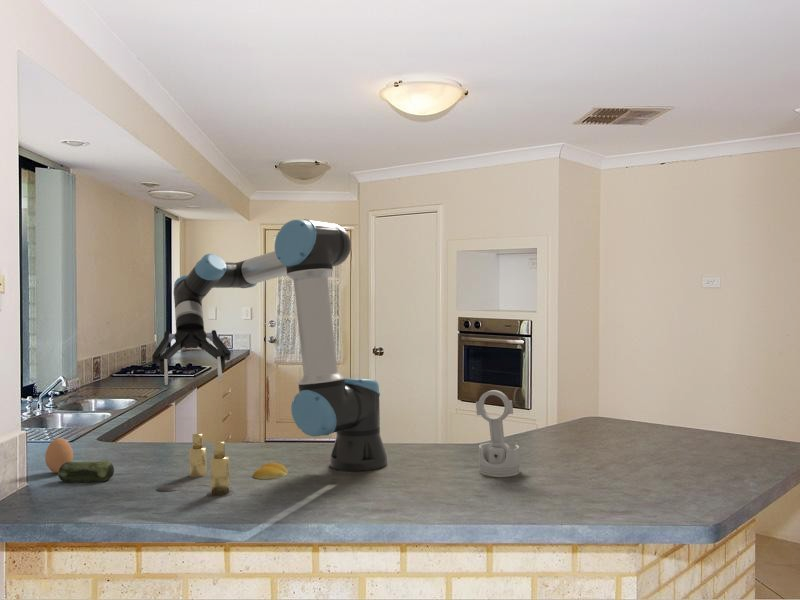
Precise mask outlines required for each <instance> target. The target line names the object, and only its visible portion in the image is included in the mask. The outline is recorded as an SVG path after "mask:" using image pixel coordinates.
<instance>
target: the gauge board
mask: <svg viewBox="0 0 800 600" xmlns="http://www.w3.org/2000/svg"><path fill="white" fill-rule="evenodd" d="M181 484H182V485H181ZM181 484H167V485H162V486H159V487H157V488H155V491H156V492H158V493H172V492H177V491H180V490H182V489H184V486H183V485H193V486H199V487H200V486H203V487H210V488H211V485H206V484H194V483H185V482H182V483H181ZM229 488H230V493H229V494H227V495H223V496H213V495H211V491H209V492H207V493H206V496H207V497H208V498H225V497H230V496H232V495H234V494H235V491H234V490H231V487H230V486H229Z"/></svg>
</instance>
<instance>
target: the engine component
mask: <svg viewBox="0 0 800 600" xmlns="http://www.w3.org/2000/svg"><path fill="white" fill-rule="evenodd" d="M490 396H495V397H498V398H500V399H501V401H502V402H503V404H504V405H503V407H504V408H503V409H504V410H503V413H502V415H500V416H497V417H494V416H491V415H490V414H489V413H487V411H486V409H485V402H486V399H487V398H488V397H490ZM475 408H476V409H475V410H476V415H477V416H481V418H483V419H484V420H485V421H487V422H488V423H489V424H488V425H489V433H490V434H489V435H490V442H485V443H484V442H483V443H481V444H479V445H478V459H479V461H478V462H479V463H478V464H479V466H478V467H479V468H478V469H479V473H480V474H481V475H484V476H488V477H493V478H495V477H496V478H503V477H504V478H508V477H514V476H517V475H518V474H520V446H519V445H518V444H515V445H514V448H513V449H512V448H511V447H510V446H509V443H506V442H505V433H504V424H503V423H504V422H503V421H504V420H505V419H507V417H508V416H509V415H513V414H514V407H513V400H511V399H509V397H508V395H506V394H505V393H504V392H502V391H501V390H497V389H494V390H493V389H492V390H488V391H486V392H484V393H483V394H482V395H480V396H479V400H478V401H476V402H475Z"/></svg>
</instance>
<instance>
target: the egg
mask: <svg viewBox="0 0 800 600" xmlns="http://www.w3.org/2000/svg"><path fill="white" fill-rule="evenodd" d="M44 457H45V458H44V459H45V464H46V466H47V469H49V470H50V472H53V473H55V474H58V471H59V468H60V467H61V466H62V465H63V464H64V463H66V462H74V461H73V460H74V451H73V448H72V446H71V444H70V443H69V441H68V440H67V439H65V438H62V437H59V438H58V437H57V438H55V439H53V440H52V441H50V443H49V444H48V446H47V449H46V451H45V456H44Z"/></svg>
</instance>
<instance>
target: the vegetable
mask: <svg viewBox="0 0 800 600" xmlns="http://www.w3.org/2000/svg"><path fill="white" fill-rule="evenodd" d="M114 474H115V467H114V464H113V463H112V462H111V461H108V460H101V461H100V460H99V461H78V462H77V461H72V462H66V463H64V464H63V465H62V466H61V467H60V468H59V471H58V473H57V476H58V478H59V480H60V481H62V482H63V483H85V482H87V481H90V482H96V481H103V482H105V481H108V480H110V479H111V478H112V477H113V476H114Z"/></svg>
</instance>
